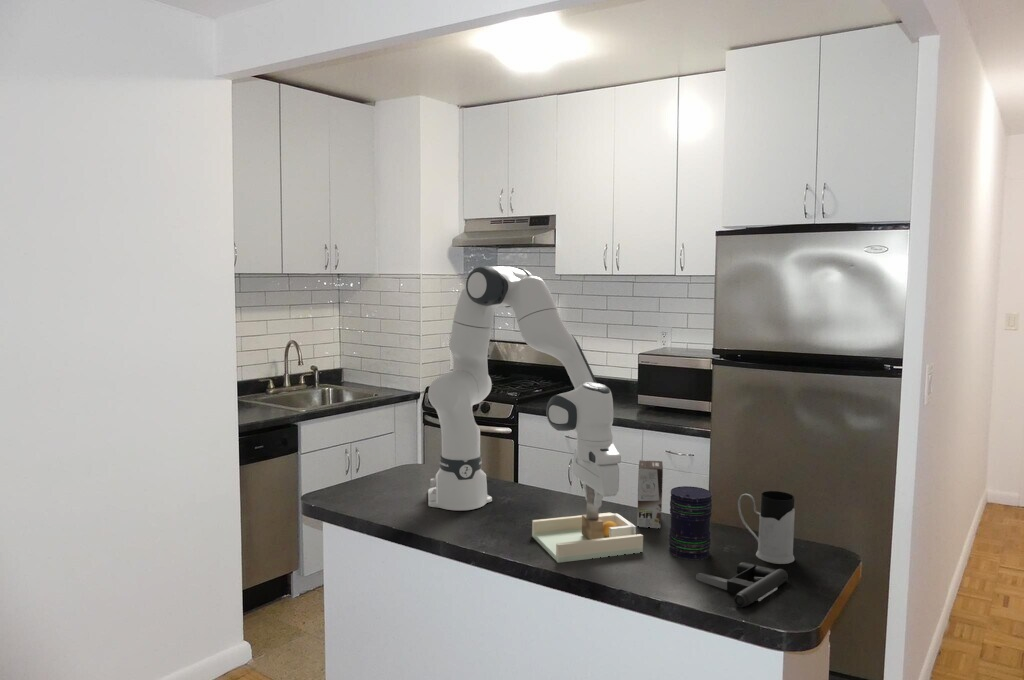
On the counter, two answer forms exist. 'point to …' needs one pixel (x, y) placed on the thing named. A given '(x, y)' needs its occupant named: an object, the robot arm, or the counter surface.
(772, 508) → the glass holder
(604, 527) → the ball
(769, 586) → the door handle
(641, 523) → the coffee box
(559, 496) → the counter surface
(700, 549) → the storage jar
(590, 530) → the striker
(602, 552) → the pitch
